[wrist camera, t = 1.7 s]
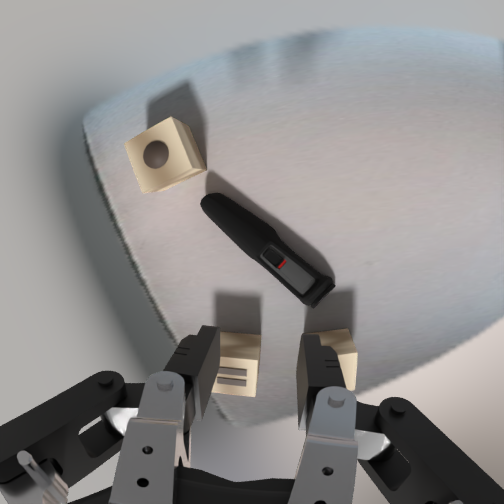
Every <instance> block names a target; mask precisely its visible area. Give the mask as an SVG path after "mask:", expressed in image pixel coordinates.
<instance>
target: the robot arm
mask: <svg viewBox="0 0 504 504" xmlns="http://www.w3.org/2000/svg"><path fill="white" fill-rule="evenodd" d="M219 366H220V328H219V327H214V326H206V325H202V327H201V329H200V331H199V332H198V334H197V335H188V336H187V337H185V338H184V339H182V340H181V342H180V343H179V345H178V348H176V350H175V352H174V354H173V355H172V357H171V359H170V360H169V362H168V364H167V365H166V367H165V369H164V370H163V371H162V372H157V373H154V374H152V375H151V376H149V377H148V379H147V380H146V383H125V382H124V378H123V377H122V376H121V375H120V374H119V373H117V372H114V371H101V372H98V373H96V374H94V375H92V376H90V377H89V378H87V379H85V380H84V381H82V382H80V383H78V384H76V385H75V386H73V387H71V388H69V389H67V390H66V391H64V392H62V393H60V394H59V395H57V396H55V397H53V398H52V399H50V400H48V401H46V402H44V403H43V404H41V405H39V406H37V407H35V408H33V409H31V410H30V411H28V412H26V413H24V414H23V415H20V416H18V417H17V418H15V419H13V420H11V421H9V422H7V423H6V424H3V425H2V426H0V491H1V493H2V495H3V496H4V498H5V500H6V501H7V502H8V504H66V503H67V501H68V499H67V496H68V488H70V487H71V486H73V485H74V484H76V483H77V482H78V481H80V480H81V479H82V478H84V477H85V476H87V475H88V474H89V473H91V472H92V471H94V470H95V469H96V468H98V467H99V466H100V465H102V464H103V463H104V462H106V461H107V460H108V459H110V458H111V457H112V456H114V455H115V454H116V453H118V452H119V451H120V450H121V451H120V456H119V459H118V463H117V468H116V472H115V477H114V482H113V486H111V487H108V488H106V489H104V490H101V491H99V492H97V493H94V494H91V495H89V496H86V497H84V498H81V499H78V500H75V501H72V502H70V503H67V504H352V499H353V492H354V484H355V475H356V467H357V460H358V462H359V463H360V465H361V466H362V467H363V468H364V470H365V471H366V473H367V474H368V475H369V477H370V478H371V480H372V481H373V482H374V483H375V485H376V486H377V487H378V489H379V490H380V491H381V493H382V494H383V495H384V496H385V498H386V499H387V501H388V502H389V503H390V504H504V489H502V488H501V487H500V486H499V485H498V484H497V483H496V482H495V481H494V480H493V479H492V478H491V477H490V476H489V475H487V474H486V473H485V472H484V471H483V470H482V469H481V468H480V467H479V466H478V465H477V464H476V463H475V462H474V461H473V460H471V459H470V458H469V457H468V456H467V455H466V454H465V453H464V452H463V451H462V450H461V449H460V448H459V447H458V446H457V445H456V444H455V443H453V442H452V441H451V440H450V439H449V438H448V437H447V436H446V435H445V434H444V433H443V432H442V431H440V429H438V427H436V426H435V425H434V424H433V423H432V422H431V421H430V420H429V419H428V418H427V417H426V416H425V415H424V414H422V412H420V411H419V410H418V409H417V408H416V407H415V406H414V405H413V404H412V403H411V402H409V401H408V400H406V399H403V398H399V397H390V398H387V399H385V400H383V401H382V402H381V403H380V405H379V406H374V405H368V404H363V403H360V402H358V401H357V400H356V397H355V395H354V394H353V393H352V392H351V391H350V390H348V389H347V388H346V384H345V380H344V377H343V373H342V369H341V366H340V362H339V359H338V355H337V352H336V351H335V350H334V349H333V348H332V347H331V346H322V345H321V341H320V336H319V334H302V335H301V341H300V348H299V355H298V361H297V371H296V379H297V400H298V425H299V430H306V439H305V442H304V446H303V450H302V453H301V457H300V460H299V464H298V467H297V471H296V474H295V477H294V479H275V478H272V479H264V480H256V481H245V482H233V481H229V480H226V479H224V478H221V477H218V476H216V475H213V474H210V473H208V472H205V471H202V470H198V469H193V468H190V457H191V455H190V454H191V425H192V423H193V420H200V421H202V419H203V416H204V413H205V409H206V407H207V404H208V401H209V398H210V395H211V392H212V388H213V385H214V382H215V379H216V376H217V373H218V370H219ZM99 416H100V417H101V419H102V420H101V421H99V422H98V423H96V424H95V425H93V426H92V427H90V428H89V429H87V430H86V431H84V432H83V433H81V434H80V435H78V434H79V431H80V430H81V428H83V427H84V426H85V425H87V424H88V423H90V422H91V421H93V420H94V419H96V418H98V417H99ZM402 455H403V456H404V457H405V458H404V457H403V456H402Z"/></svg>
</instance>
